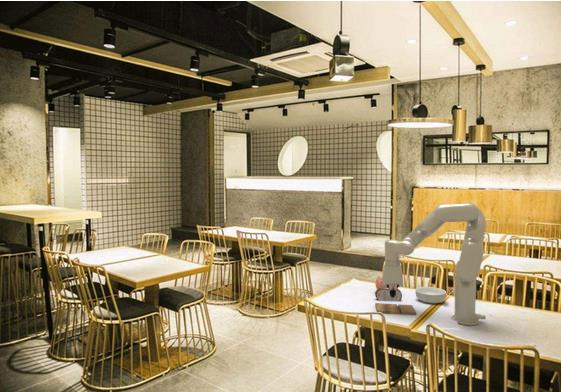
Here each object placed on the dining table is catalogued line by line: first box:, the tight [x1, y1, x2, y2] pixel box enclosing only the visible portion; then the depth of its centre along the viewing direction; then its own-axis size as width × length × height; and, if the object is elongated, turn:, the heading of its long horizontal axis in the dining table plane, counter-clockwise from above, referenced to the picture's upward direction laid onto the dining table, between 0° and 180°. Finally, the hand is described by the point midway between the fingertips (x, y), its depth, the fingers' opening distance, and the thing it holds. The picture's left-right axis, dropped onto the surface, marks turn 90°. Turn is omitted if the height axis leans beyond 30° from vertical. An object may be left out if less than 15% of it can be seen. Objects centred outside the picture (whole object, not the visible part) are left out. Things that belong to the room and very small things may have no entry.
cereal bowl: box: [414, 286, 447, 304], centre depth 233 cm, size 17×17×7 cm
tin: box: [374, 287, 403, 302], centre depth 233 cm, size 15×3×8 cm, turn 84°
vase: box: [374, 272, 394, 290], centre depth 250 cm, size 14×14×18 cm
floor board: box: [397, 303, 417, 316], centre depth 216 cm, size 22×13×2 cm, turn 82°
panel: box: [374, 302, 401, 315], centre depth 217 cm, size 11×12×2 cm
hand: (392, 296), depth 216 cm, fingers closed
